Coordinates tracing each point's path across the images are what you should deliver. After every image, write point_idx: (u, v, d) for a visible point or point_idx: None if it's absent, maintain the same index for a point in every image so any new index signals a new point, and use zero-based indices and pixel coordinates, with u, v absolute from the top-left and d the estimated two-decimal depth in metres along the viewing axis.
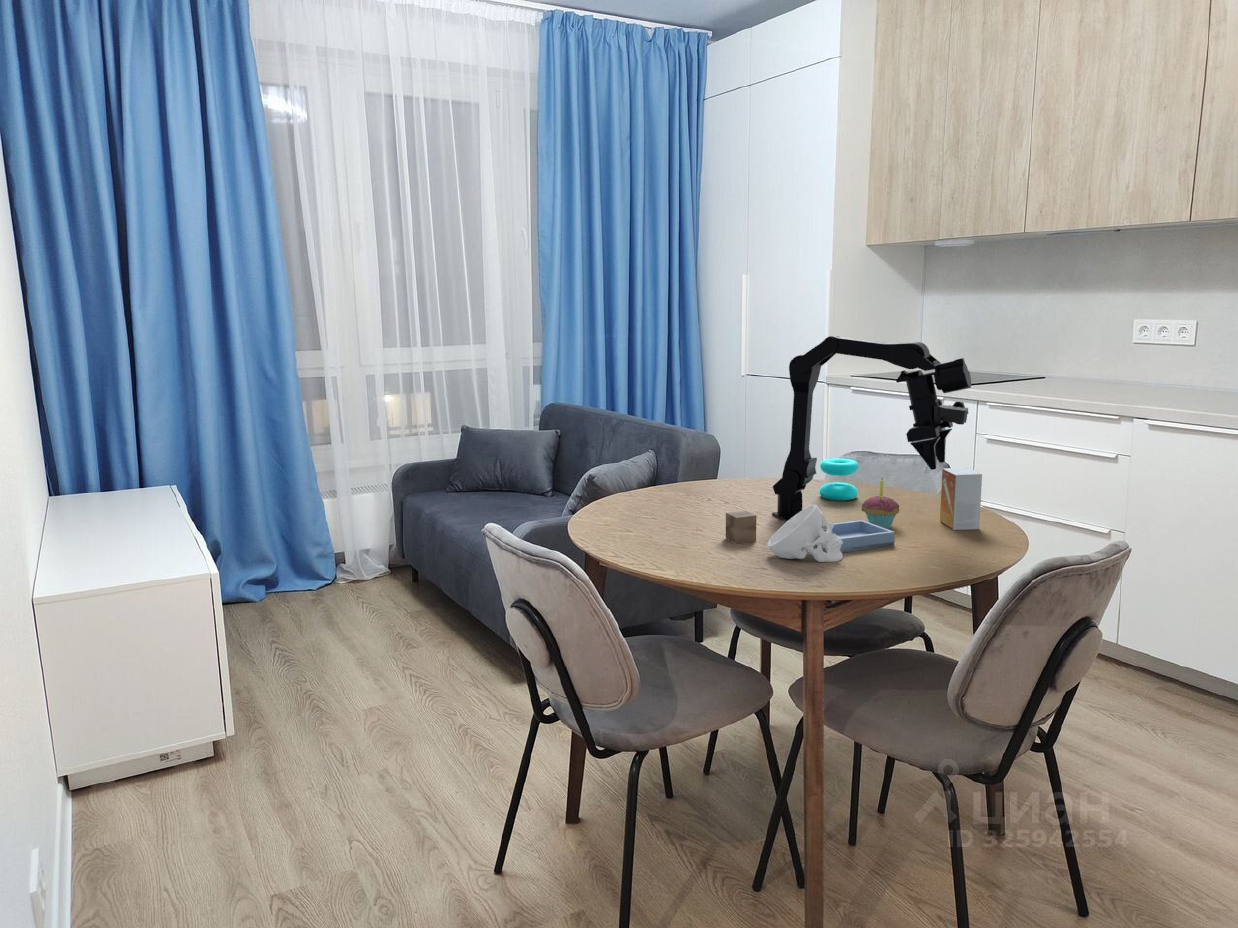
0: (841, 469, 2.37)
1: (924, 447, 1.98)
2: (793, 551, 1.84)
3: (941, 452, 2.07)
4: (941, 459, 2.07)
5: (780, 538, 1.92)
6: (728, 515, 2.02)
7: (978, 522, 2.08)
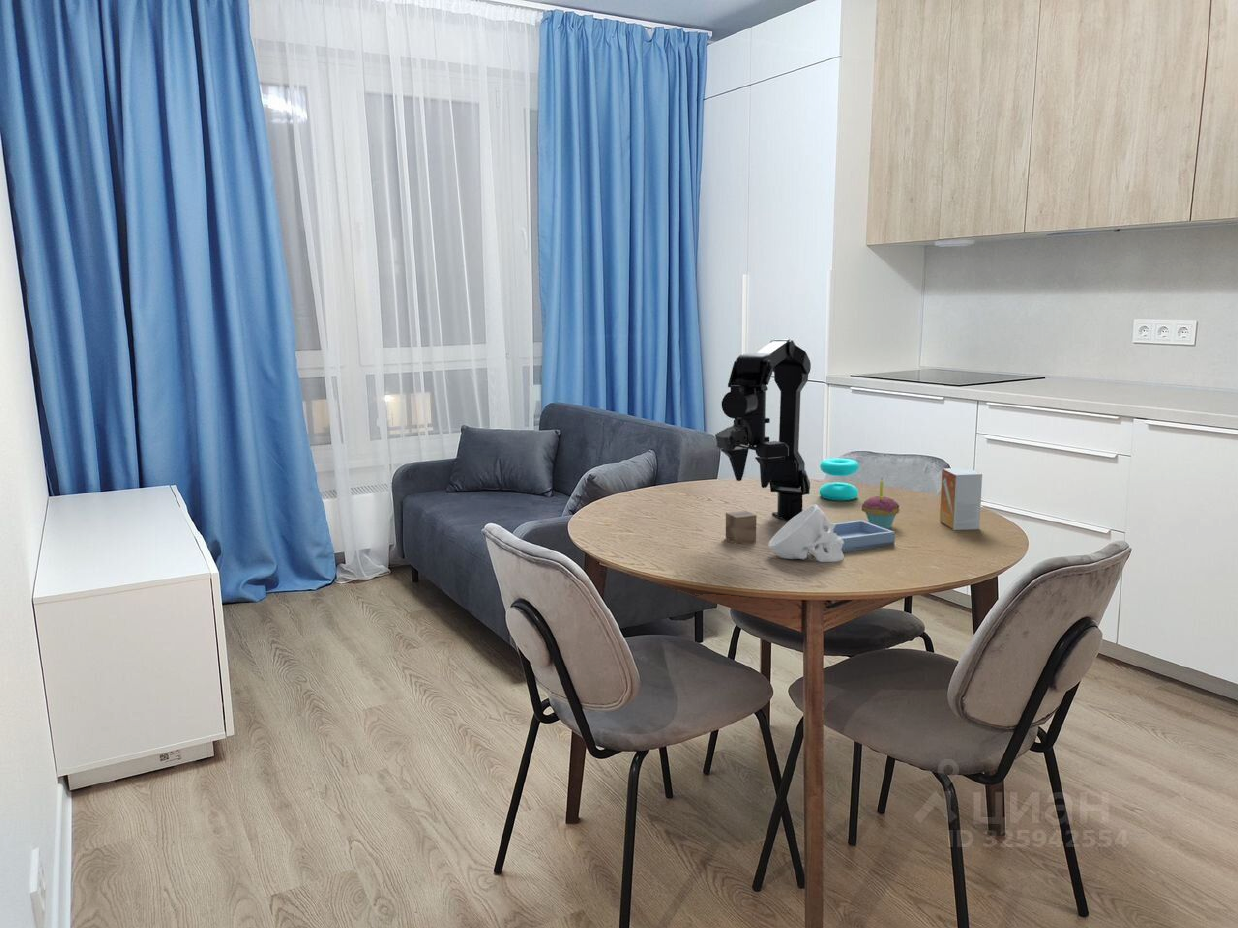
0: (841, 469, 2.37)
1: None
2: (794, 551, 1.84)
3: None
4: None
5: (781, 538, 1.92)
6: (728, 515, 2.02)
7: (978, 522, 2.08)
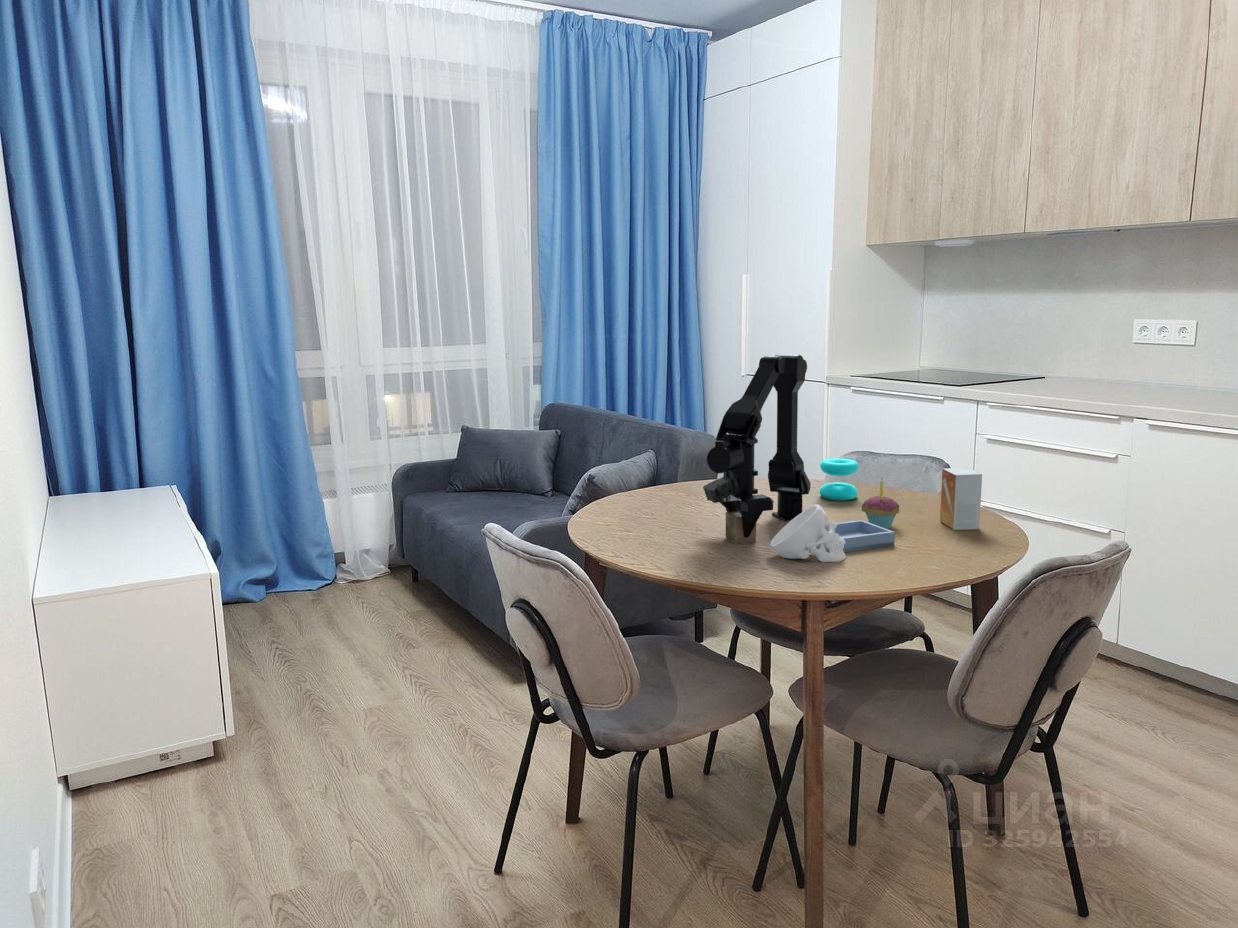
0: (841, 469, 2.37)
1: None
2: (796, 551, 1.84)
3: None
4: None
5: (783, 538, 1.92)
6: (728, 515, 2.02)
7: (978, 522, 2.08)
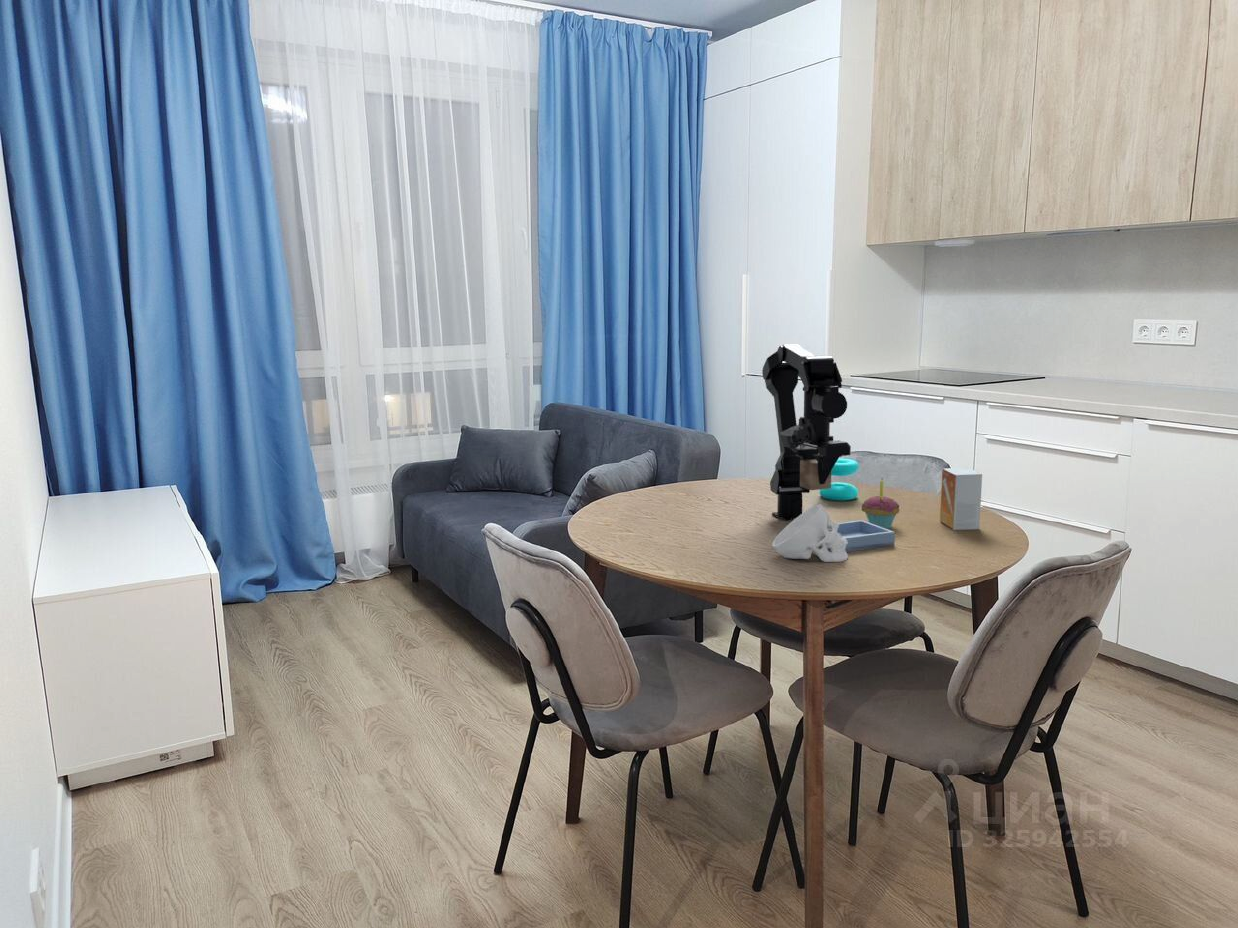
0: (841, 469, 2.37)
1: None
2: (798, 551, 1.84)
3: None
4: None
5: (785, 538, 1.92)
6: (803, 462, 2.04)
7: (978, 522, 2.08)
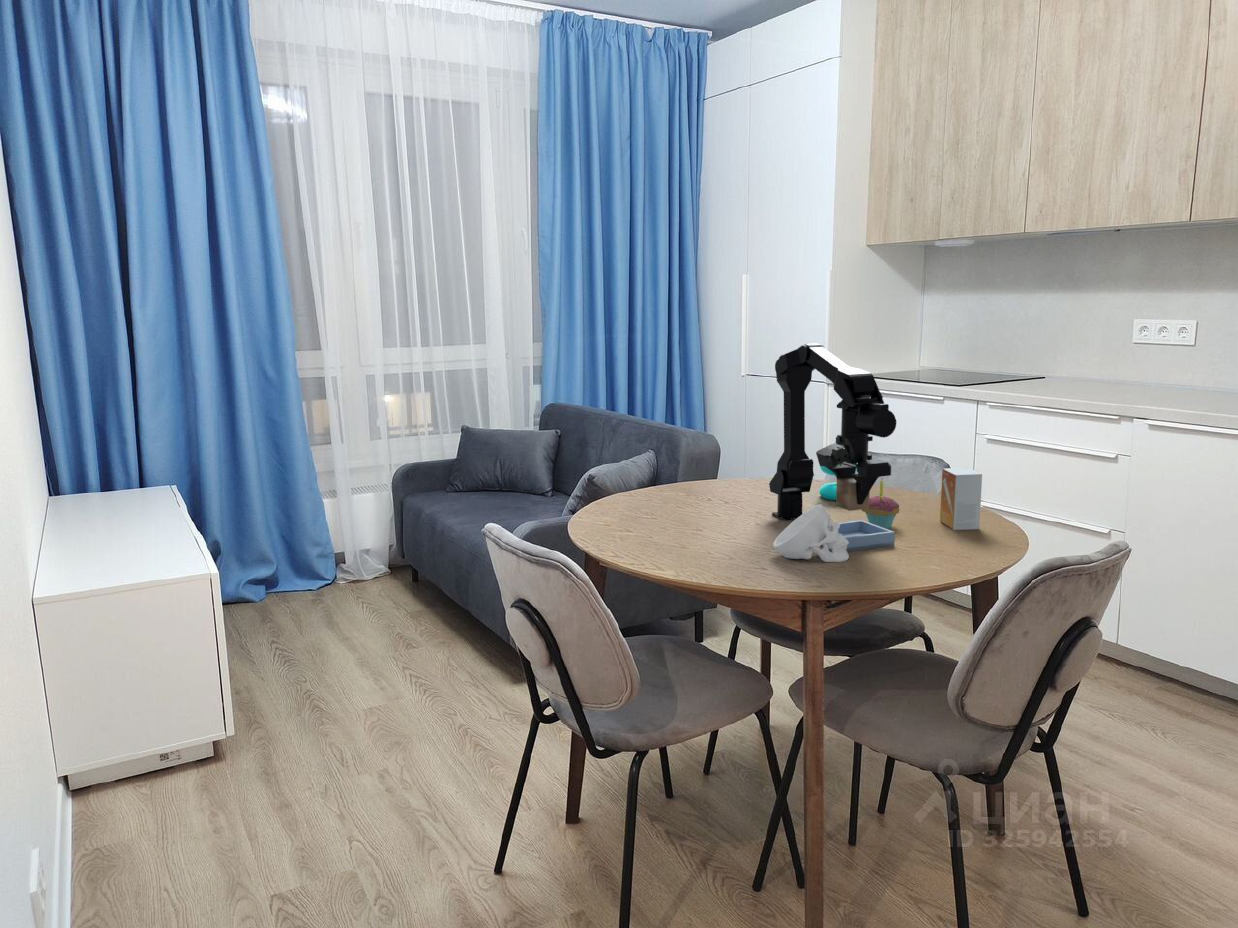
0: None
1: None
2: (799, 551, 1.84)
3: None
4: None
5: (786, 538, 1.92)
6: (840, 481, 1.97)
7: (978, 522, 2.08)
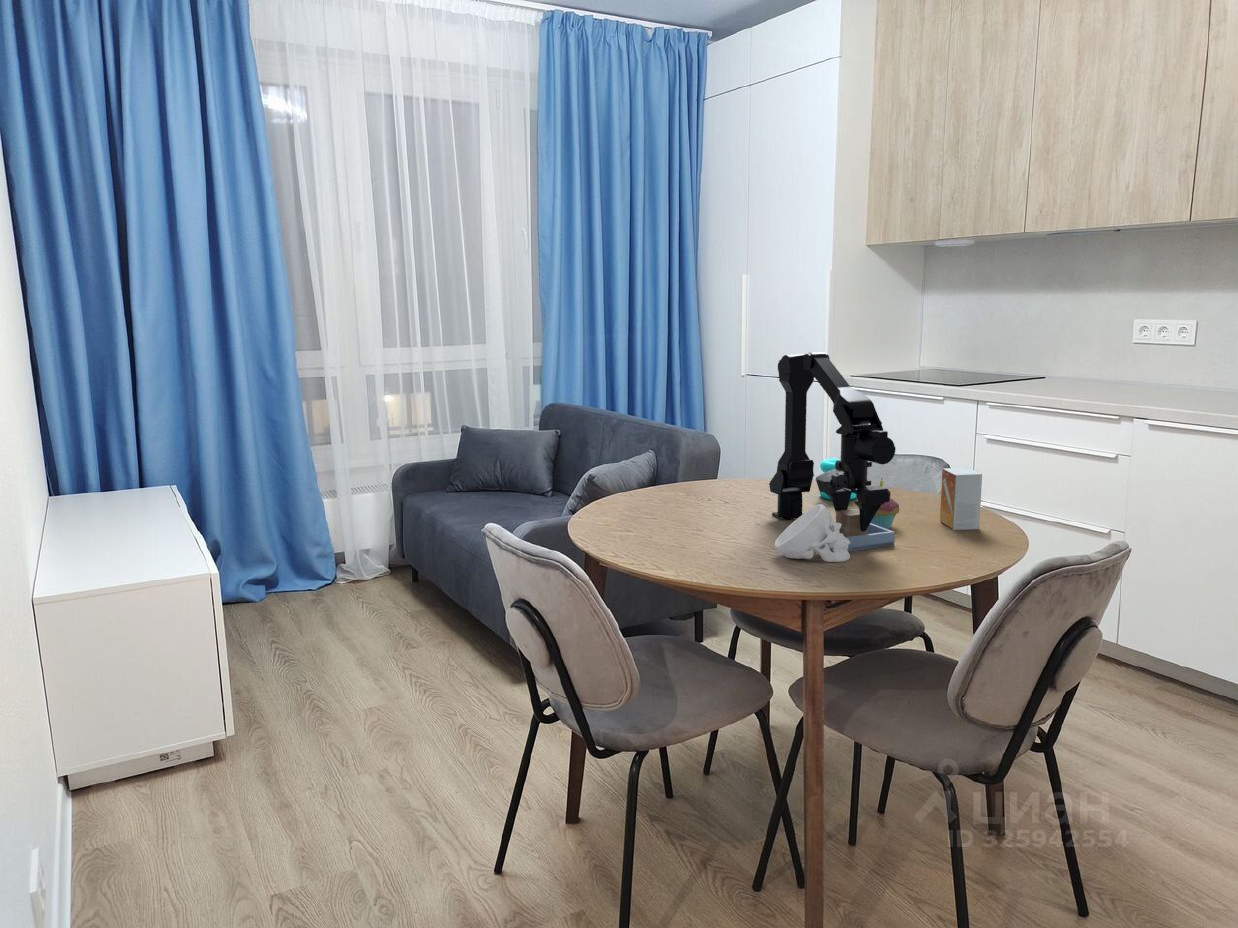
0: None
1: None
2: (801, 551, 1.84)
3: None
4: None
5: (787, 538, 1.92)
6: (839, 513, 1.98)
7: (978, 522, 2.08)
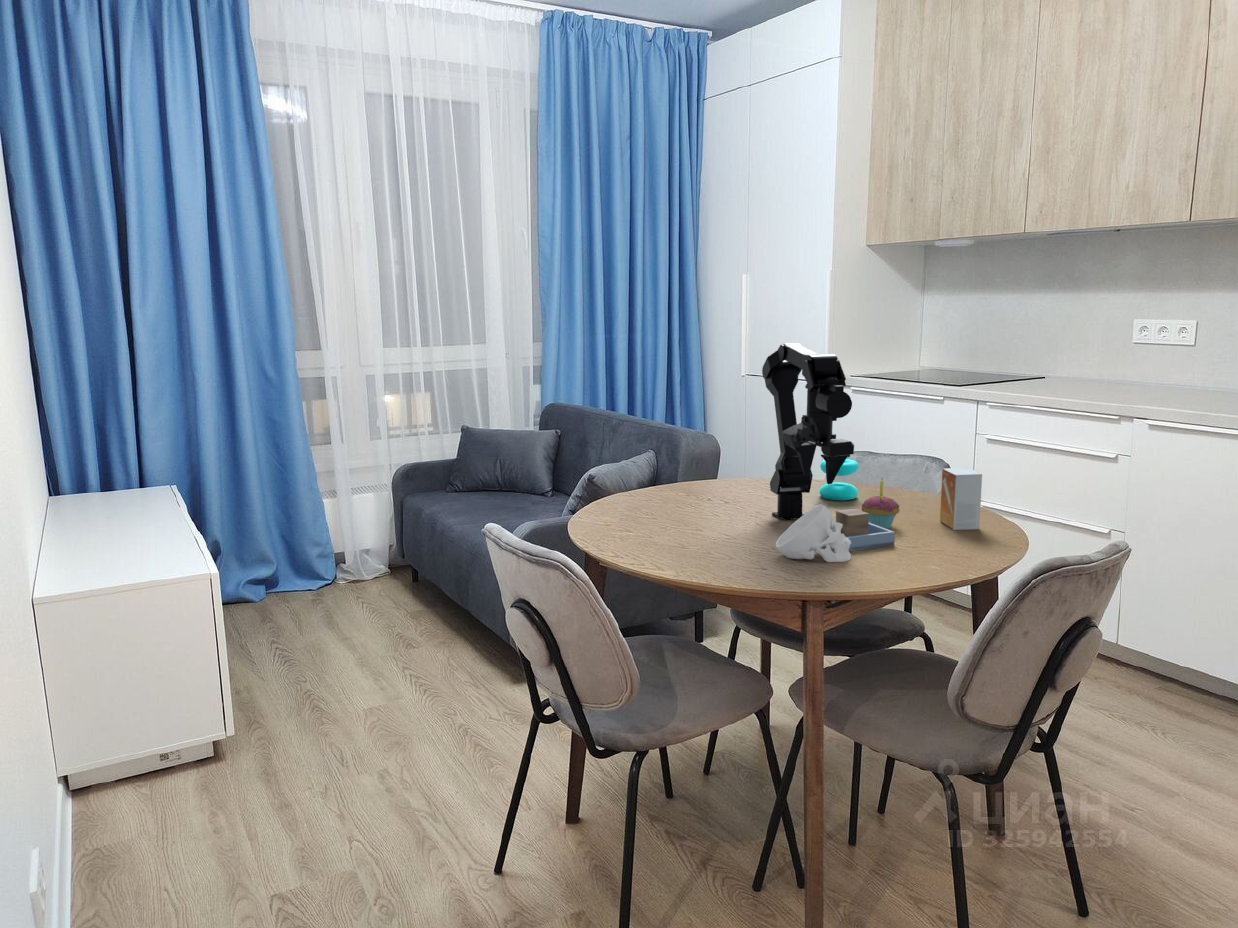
0: (841, 469, 2.37)
1: None
2: (802, 551, 1.84)
3: None
4: None
5: (788, 538, 1.92)
6: (839, 513, 1.98)
7: (978, 522, 2.08)
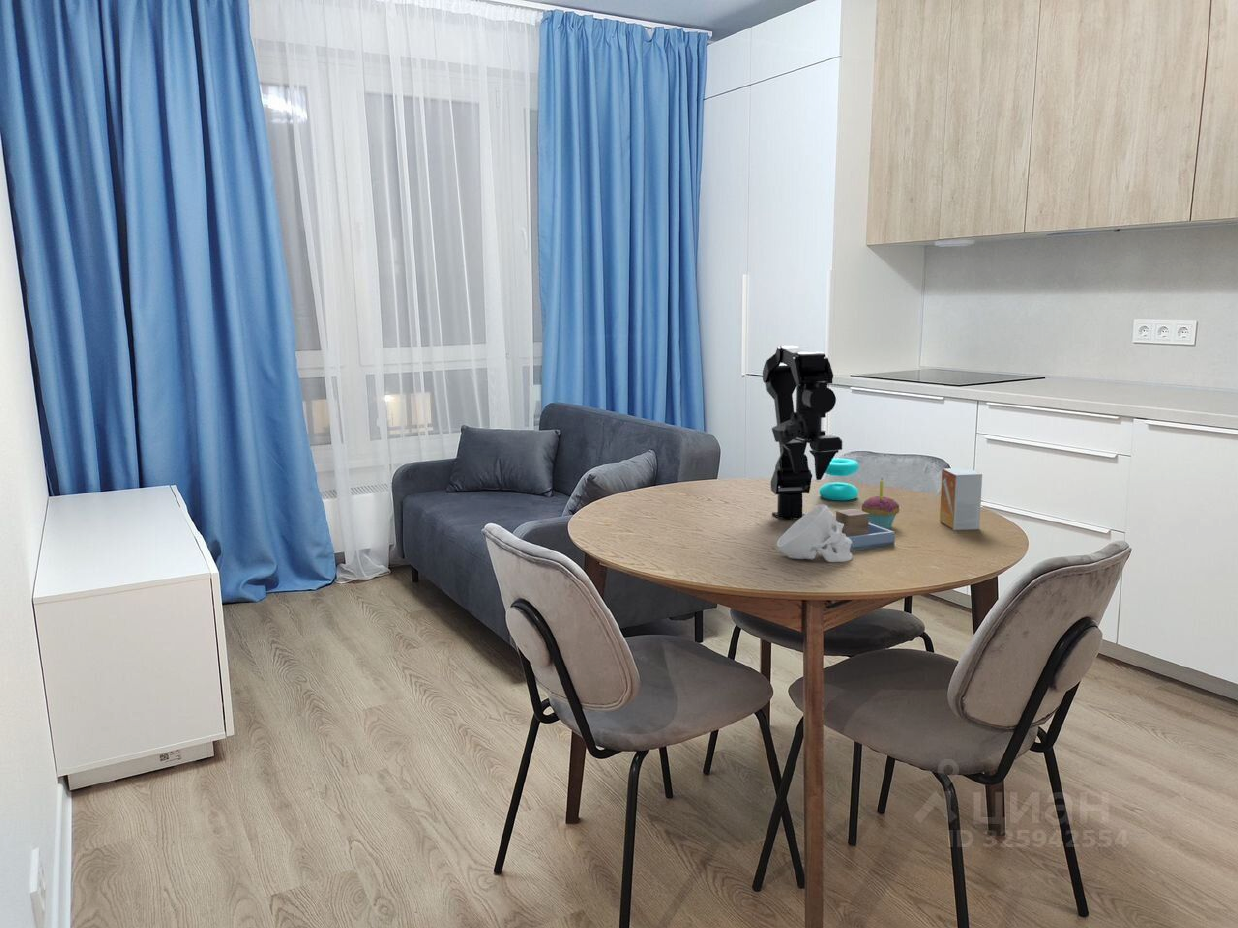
0: (841, 469, 2.37)
1: None
2: (803, 551, 1.84)
3: None
4: None
5: (789, 538, 1.92)
6: (839, 513, 1.98)
7: (978, 522, 2.08)
